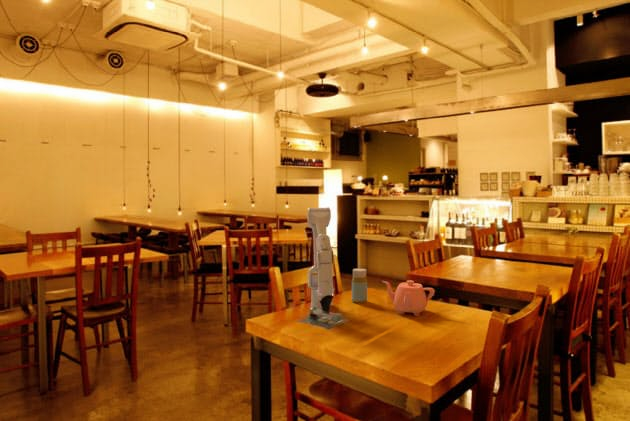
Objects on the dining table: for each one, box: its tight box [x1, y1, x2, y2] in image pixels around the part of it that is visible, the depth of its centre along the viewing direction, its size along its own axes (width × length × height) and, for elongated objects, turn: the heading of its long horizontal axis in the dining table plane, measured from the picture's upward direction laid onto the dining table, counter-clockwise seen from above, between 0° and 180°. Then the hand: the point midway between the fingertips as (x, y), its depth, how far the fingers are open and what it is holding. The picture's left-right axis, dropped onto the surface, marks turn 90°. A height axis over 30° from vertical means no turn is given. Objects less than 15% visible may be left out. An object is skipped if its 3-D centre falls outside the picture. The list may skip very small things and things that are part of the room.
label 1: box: [318, 317, 331, 322], centre depth 171 cm, size 5×4×1 cm
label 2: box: [328, 320, 343, 325], centre depth 168 cm, size 5×4×1 cm
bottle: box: [351, 267, 368, 304], centre depth 200 cm, size 7×7×15 cm
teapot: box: [381, 279, 436, 317], centre depth 184 cm, size 16×17×14 cm
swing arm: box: [308, 306, 343, 322], centre depth 170 cm, size 16×3×3 cm, turn 44°
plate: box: [296, 315, 350, 330], centre depth 170 cm, size 14×16×1 cm
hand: (325, 314), depth 172 cm, fingers closed, pressing on swing arm
